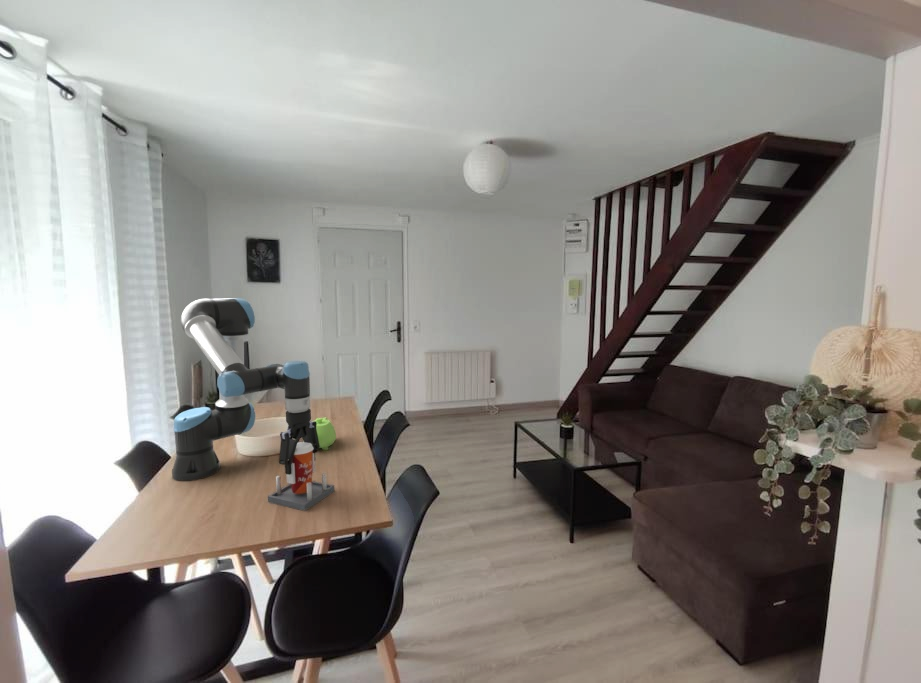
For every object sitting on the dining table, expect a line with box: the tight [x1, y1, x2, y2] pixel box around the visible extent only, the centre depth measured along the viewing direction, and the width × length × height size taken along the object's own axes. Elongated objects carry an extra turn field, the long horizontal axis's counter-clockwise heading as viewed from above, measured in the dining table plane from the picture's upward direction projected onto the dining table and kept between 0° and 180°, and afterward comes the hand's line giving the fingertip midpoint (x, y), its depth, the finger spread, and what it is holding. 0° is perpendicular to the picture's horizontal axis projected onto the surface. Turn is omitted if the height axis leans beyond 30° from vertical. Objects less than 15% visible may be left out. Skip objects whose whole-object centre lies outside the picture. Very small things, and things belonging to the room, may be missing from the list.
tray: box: [267, 473, 336, 512], centre depth 135 cm, size 15×14×7 cm
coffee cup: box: [288, 441, 314, 494], centre depth 135 cm, size 8×8×15 cm
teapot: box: [302, 416, 337, 451], centre depth 179 cm, size 20×13×13 cm
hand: (301, 477), depth 135 cm, fingers closed on coffee cup, 8 cm apart
